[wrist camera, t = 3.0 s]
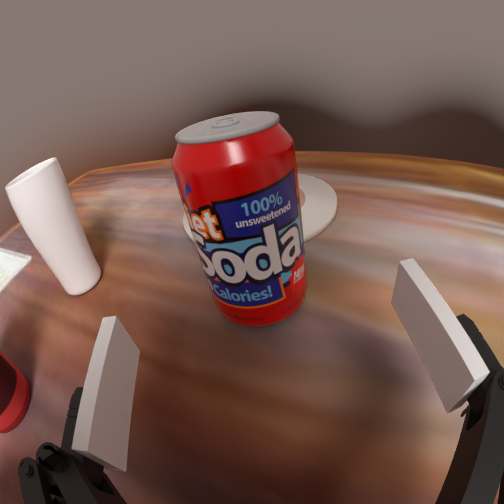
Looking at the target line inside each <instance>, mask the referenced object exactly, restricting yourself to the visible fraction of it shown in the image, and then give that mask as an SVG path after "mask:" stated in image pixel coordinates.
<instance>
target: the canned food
mask: <svg viewBox="0 0 504 504" xmlns="http://www.w3.org/2000/svg"><path fill="white" fill-rule="evenodd" d="M29 400H30V388H29V385H28V382H27V380H26V379H25V377H24V375H23V374H22V372H21V371H20V370H19V369H18V368H17V367H16V366H15V365H14V364H13V363H12V362H11V361H10V360H9V359H8V358H7V357H6V356H5V355H4V354H3V353H2V351H1V350H0V433H6V432H9V431H11V430H12V429H14V428H15V427H16V426H17V425H18V424H19V423H20V422H21V420H22V419H23V417H24V416H25V413H26V411H27V409H28V405H29Z"/></svg>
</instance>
